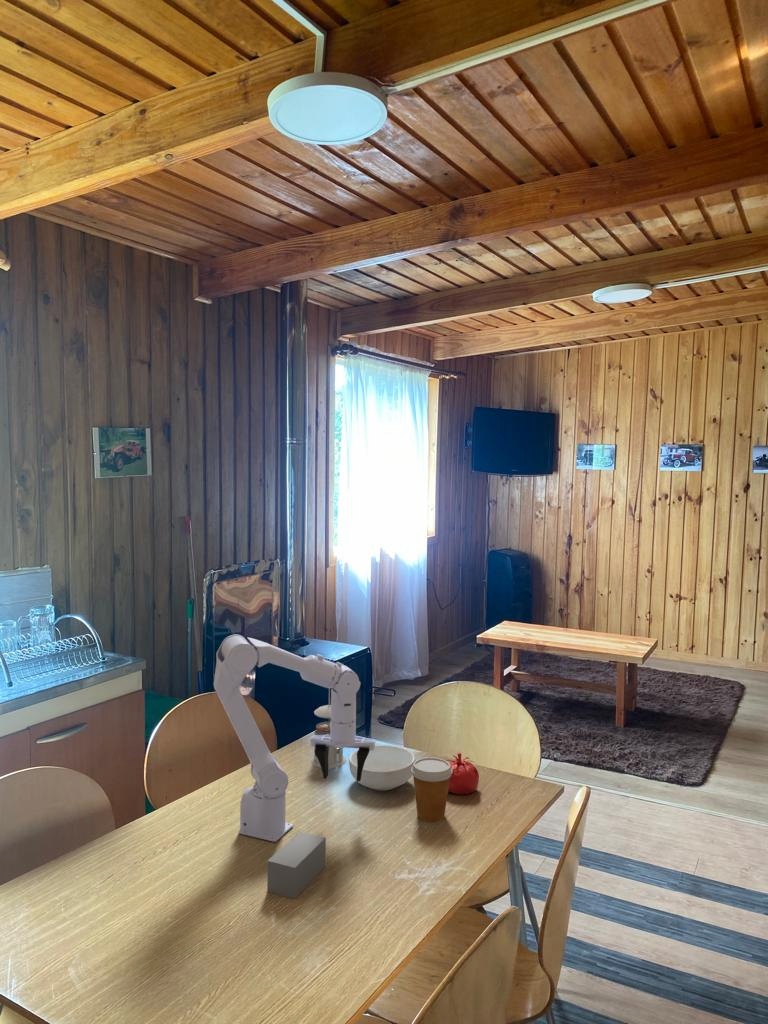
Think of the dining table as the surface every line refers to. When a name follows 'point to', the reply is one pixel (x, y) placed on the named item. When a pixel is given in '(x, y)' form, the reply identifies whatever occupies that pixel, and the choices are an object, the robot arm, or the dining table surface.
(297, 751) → the dining table surface
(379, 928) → the dining table surface
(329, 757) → the french press
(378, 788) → the cereal bowl
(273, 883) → the grey rectangular block
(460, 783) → the pomegranate
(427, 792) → the disposable coffee cup
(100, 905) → the dining table surface
